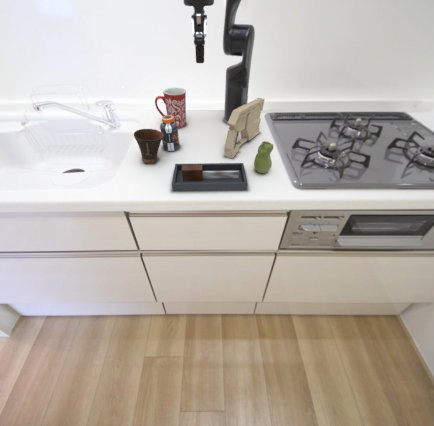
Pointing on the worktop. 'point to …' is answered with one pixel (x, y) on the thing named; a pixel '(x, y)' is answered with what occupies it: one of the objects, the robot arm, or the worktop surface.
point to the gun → (243, 125)
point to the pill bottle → (169, 133)
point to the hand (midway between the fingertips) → (200, 59)
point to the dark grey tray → (211, 184)
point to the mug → (174, 104)
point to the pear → (263, 157)
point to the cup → (148, 144)
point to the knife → (204, 173)
